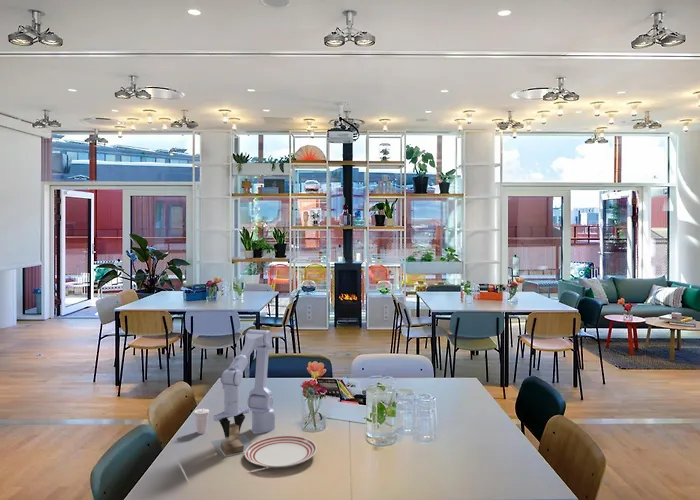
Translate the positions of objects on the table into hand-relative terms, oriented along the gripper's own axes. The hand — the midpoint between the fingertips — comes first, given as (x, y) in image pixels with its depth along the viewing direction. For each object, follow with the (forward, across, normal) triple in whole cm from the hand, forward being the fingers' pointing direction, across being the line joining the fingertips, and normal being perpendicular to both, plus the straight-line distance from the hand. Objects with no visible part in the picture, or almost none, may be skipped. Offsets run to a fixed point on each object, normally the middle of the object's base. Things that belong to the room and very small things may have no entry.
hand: (232, 434), depth 207 cm
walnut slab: (+6, 0, 0) cm, 6 cm away
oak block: (+1, 0, 0) cm, 1 cm away
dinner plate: (+7, -11, +17) cm, 22 cm away
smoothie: (+7, 0, -26) cm, 27 cm away
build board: (+7, -3, -4) cm, 8 cm away
